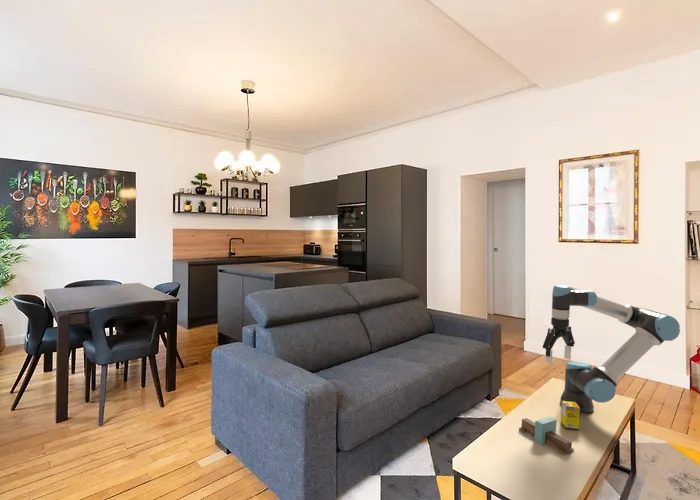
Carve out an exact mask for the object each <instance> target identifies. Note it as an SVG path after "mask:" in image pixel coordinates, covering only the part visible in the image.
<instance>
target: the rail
mask: <svg viewBox="0 0 700 500" xmlns="http://www.w3.org/2000/svg"><path fill="white" fill-rule="evenodd" d="M518 431H520V432H521V433H528V434H530V435H531V436H534V437H535V421H533V420H531V419H529V418H528V417H525V418H522V419H521V427H518ZM545 444H547V445H549V446H550V447H553V448H554V449H556V450H557V451H556V452H557V454H559V455H561V456H565V455H570V454H571V453H572V452H574V450H575V449H574V448H573V447H572V445H573V443H572V441H570V440H568V439H566V438H565V437H563V436H561V435H560V434H557V432H556V433H554V432H552V431H550V432H547V433H545Z"/></svg>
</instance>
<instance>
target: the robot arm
mask: <svg viewBox="0 0 700 500" xmlns="http://www.w3.org/2000/svg"><path fill="white" fill-rule="evenodd" d="M551 295H552V297H551V298H552V299H551V301H552V302H551V303H552V304H551V321H550V322H551V323H550V324H551V325H552V328H548V329H547V334H546V335H545V339H544V342H543V344H542V349H545V363H547V364H549V365H551V364H552V363H553V347H554V345H555V344H556V341H557V340H558V339H560V338H562V340H563V341H564V343H565V345H564V354H563V355H564V356H563V357H564V359H566V360H569V361H568V362H566V364H565V369H564V371H565V372H564V374H565V375H564V389H563V392H562V394H561V396H560V398H559V403H560V406H562V401H568V402H575V403H576V404H577V405H578V406H579V407H580V414H589V413H593V412H594V410H595V409H594V407H595V406H594V403H593V402H596V403H604V404H605V403H608V402H609V401H610V402H611V400H612V399H614V397H615V395H616V391H617V390H616V387H618V381H619V379H620V378H621V377H622V376H623V375H625V373H627V372H628V371H629V370H630V369H631V368H632V367H633V366H634V365H635V364H636V363H637V362H638V361H639V360H640V359H641V358H642V357H643V356H644V355H646V354H647V353H648V352H649V351H650V349H652V347H654V346H661V345H662V344H663V343H664V342H665V341H667V342H670V341H671V342H673V341H675V340H676V339H677V338H678V337H679V335H680V332H681V329H680V328H681V325H680V323H679V321H678V320H677V319H676V318H675V317H673V316H672V315H669V314H667V313H661V312H658V311H655V310H650V309H647V308H643V307H636V306H633V305H629V304H624V305H623V304H622V303H621V304H620V303H618V302H616V301H612V300H610V299H607V298H603V297H601V296H598V295H597V293H596V292H595V291H594V290H589V289H587V290H585V289H579V288H576V287H572V286H569V285H566V284H565V285H563V284H562V285H559V284H558V285H553V288H552V293H551ZM571 306H572V307H573V306H574V307H583V308H585V309H589V310H592V311H593V312H594V311H595V312H597V313H600V314H603V315H605V316H609V317H611V318H613V319H617V320H618V322H620V323H623V324H625V325H627V326H629V327H631V328H633V329H635V333H634V334H633V335H632V336H631V337H630V338H629V339H627V340H626V341H625V342H624V343H623V345H621V346H620V347H619V348H618V349H617V350H616V351H615V352H614V353H613V354H612V355H611V356H610V357H609V358H608V359H606V361H604V362H603V364H602V365H600V366H594V367H593V366H592V365H591V364H590V363H586V362H582V361H570V360H571V359H572V358H571V356H572V355H571V354H572V347H573V348H574V347H575V343H576V342H575V338H574V336H573V332H572V326H570V313H571V312H570V311H571ZM592 367H593V368H592Z"/></svg>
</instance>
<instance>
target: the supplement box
mask: <svg viewBox="0 0 700 500" xmlns="http://www.w3.org/2000/svg"><path fill="white" fill-rule="evenodd" d="M560 410H561V416H560V423H561V425H562V426H563V428H564V429H566V430H571V431H580V414H581V413H580V407H579V406H578V405H577V404H576V403H575V402H568V401H562V405H561V409H560Z"/></svg>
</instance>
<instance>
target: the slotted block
mask: <svg viewBox="0 0 700 500" xmlns="http://www.w3.org/2000/svg"><path fill="white" fill-rule="evenodd" d="M534 422H535V436H534V441H535V442H536V443H538V444H540V445H544V444H546V443H545V433H547V432H550V431H552V432H554V433H556V434H557V419H556V418H553V417H552V416H550V415H549V416H547V417H542V418H539V419H536V420H535V421H534Z"/></svg>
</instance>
